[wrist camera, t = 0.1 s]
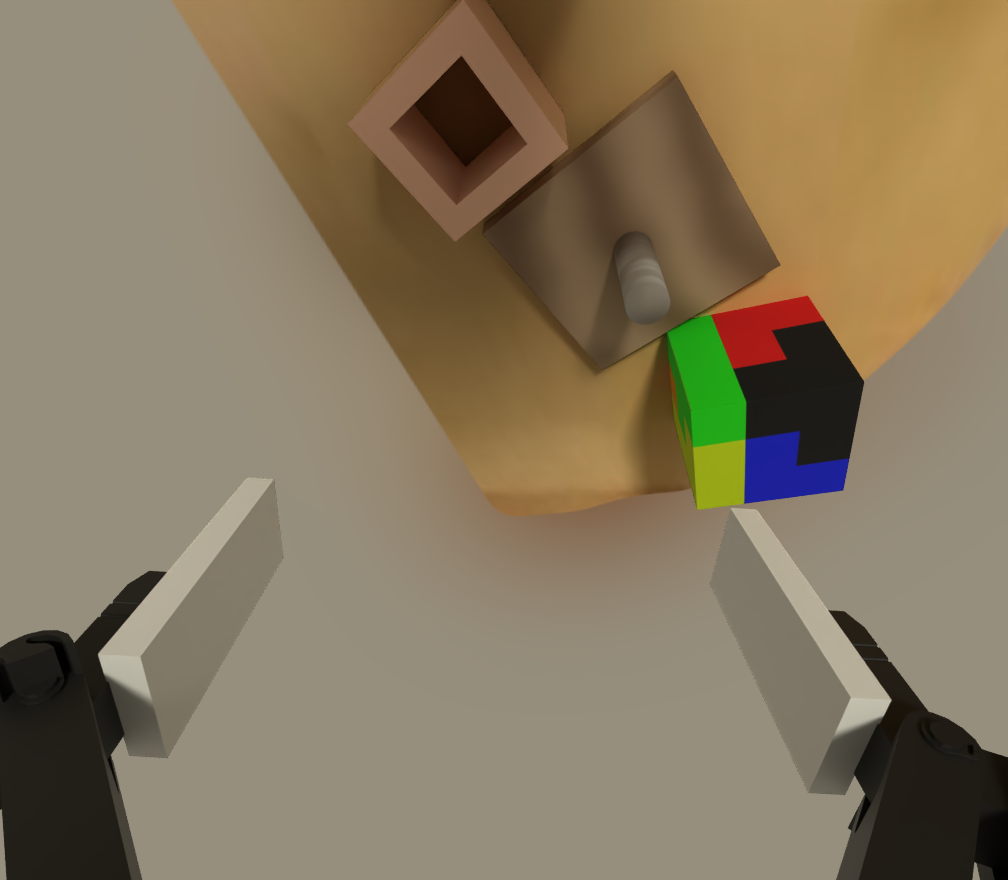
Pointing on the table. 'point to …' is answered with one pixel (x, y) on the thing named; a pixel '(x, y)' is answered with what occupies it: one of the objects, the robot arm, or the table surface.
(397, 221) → the table surface
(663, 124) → the square plate with peg
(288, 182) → the table surface
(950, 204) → the table surface
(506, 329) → the table surface
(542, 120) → the collar
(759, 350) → the puzzle toy
